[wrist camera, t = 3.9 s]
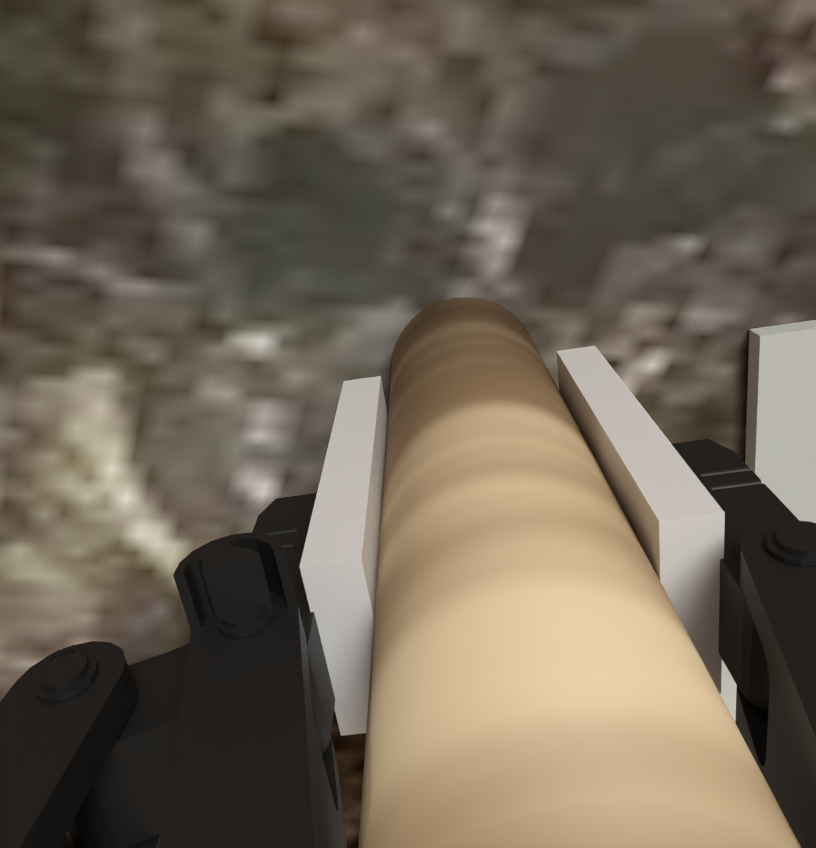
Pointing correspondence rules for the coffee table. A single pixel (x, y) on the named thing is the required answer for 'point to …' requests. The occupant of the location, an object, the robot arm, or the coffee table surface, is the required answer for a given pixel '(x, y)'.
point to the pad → (783, 413)
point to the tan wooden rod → (529, 629)
